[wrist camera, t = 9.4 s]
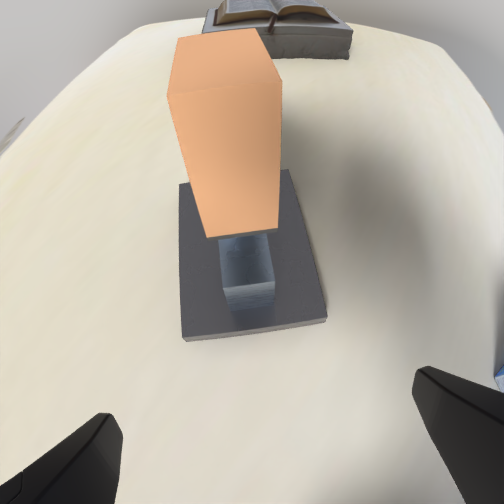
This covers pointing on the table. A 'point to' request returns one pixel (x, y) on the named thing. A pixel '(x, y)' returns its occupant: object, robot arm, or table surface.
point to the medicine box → (500, 379)
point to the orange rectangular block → (229, 130)
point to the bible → (285, 27)
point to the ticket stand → (247, 275)
